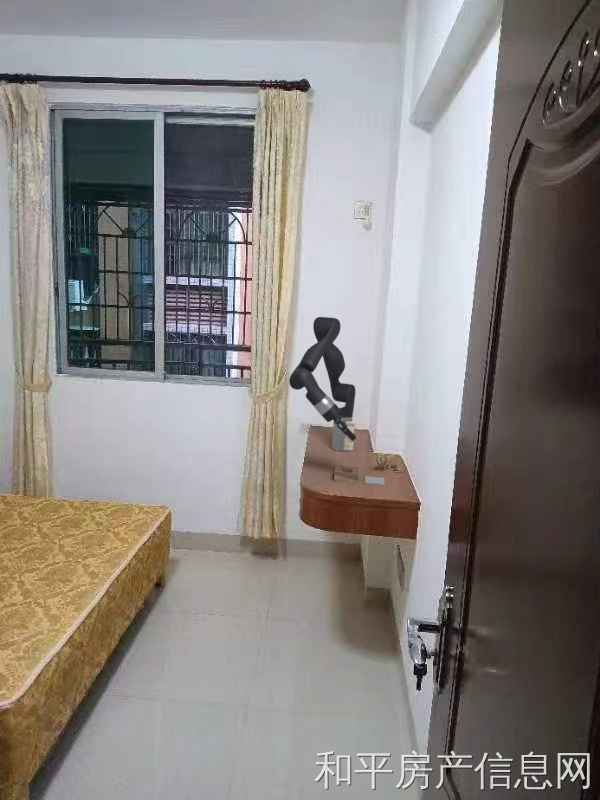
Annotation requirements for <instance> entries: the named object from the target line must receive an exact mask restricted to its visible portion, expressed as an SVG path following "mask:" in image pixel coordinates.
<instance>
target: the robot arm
mask: <svg viewBox="0 0 600 800" xmlns="http://www.w3.org/2000/svg"><path fill="white" fill-rule="evenodd" d="M340 332H341V322H340V320H339V319H338V318H336V317H329V316H319V317H318V316H317V317H316V318H315V319H314V320H313V333H314V336H315V338H316V341H317V342H315V343H314V344H313V345H311V346H310V347H309V348H308V349H307V350H305V353H304V354H303V356H302V358H301V360H300V362H299V363H298V364H297V366H296V367H295V368H294V370H293V371H292V373H291V375H290V376H289V380H288V382H289V386H290V387H291V388H292V389H294V390H296V391H299V390H301V389H303V388H305V390H306V393H305V398H306V399H307V401H308V402H309V403H310V404H311V405H312V406H313V407H314V409H315V410H316V411H317V412H318V414H320V416H322V418H323V419H324V420H325V421H326V422H327V423H330V422H332V421H333V427H332V442H331V449H332V450H333V451H336V452H349V451H351V450H350V449H344V443H345V435H347V436H348V437H349V438H350V439H351V440H352V441H353V442H354V440H356V439H357V436H356V434H355V433H354V434H353V433H352V432H351V431H350V429H349V428H348V425H347V424H346V422H353V415H354V408H355V400H356V387H355V385H354V384H352V383H351V384H350V383H343V382H340V377H341V376H342V374H343V372H344V371H345V369H346V362H345V358H344V355H343V352H342V351H341V350H340V348H338V346H337V345H335V344H334V342H335V341H336V339H337V338H338V337H339V334H340ZM322 358H323V363H324V366H325V369H326V373H327V376H328V379H329V384H330V386H329V387H330V392H331V396H332V399H333V400H332V399H331V397H330V396H328V395H327V394H326V393H325V392H324V391H323V389H322V388H321V387H320V385H319V383H318V382H317V380H316V377H315V376H314V375H313V372H314V371H315V370H316V369H317V367H318V365H319V363H320V361H321V359H322ZM334 401H336V402H340V403H344V406H341V407H339V406H338V405H337V404H336V403H335V402H334ZM345 429H347V430H346V431H345Z"/></svg>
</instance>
